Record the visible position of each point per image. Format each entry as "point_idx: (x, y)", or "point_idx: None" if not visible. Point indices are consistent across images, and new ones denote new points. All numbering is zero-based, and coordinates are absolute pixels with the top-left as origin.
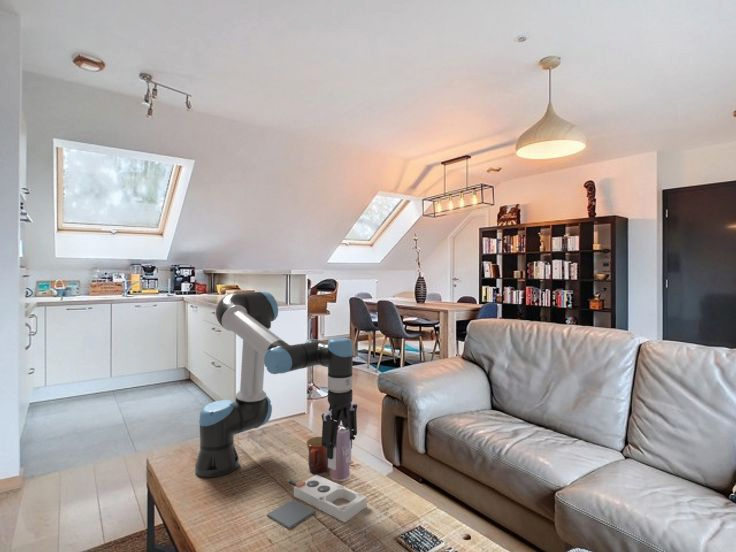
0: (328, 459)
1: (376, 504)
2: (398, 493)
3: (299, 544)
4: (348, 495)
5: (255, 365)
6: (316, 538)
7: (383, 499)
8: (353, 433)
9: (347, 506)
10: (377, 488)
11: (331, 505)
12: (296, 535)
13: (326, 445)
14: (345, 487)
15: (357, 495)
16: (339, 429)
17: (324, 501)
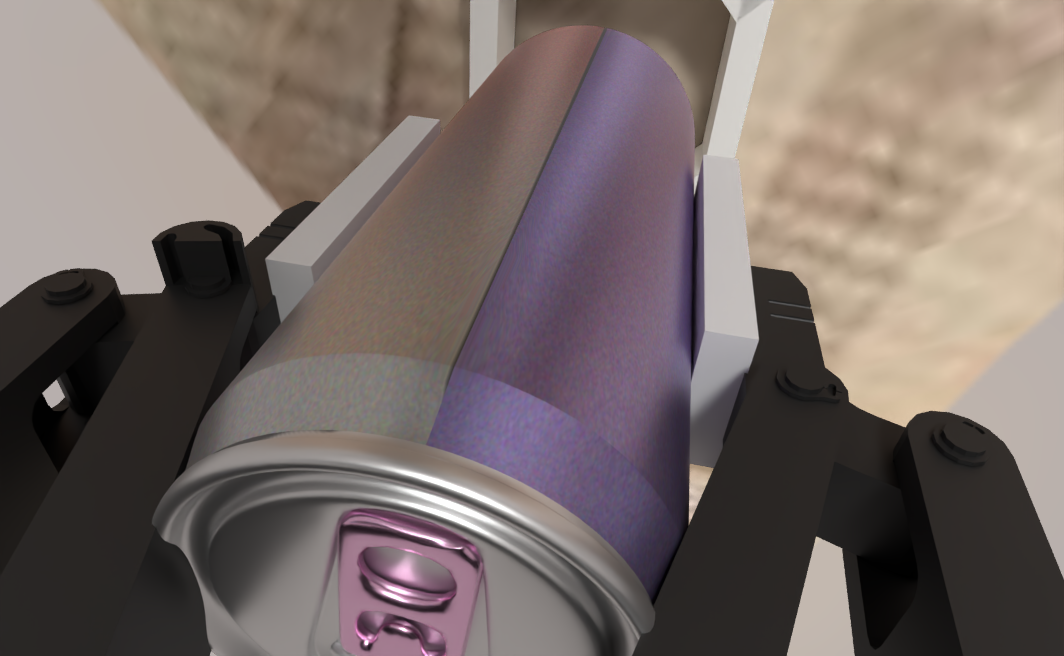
0: (370, 162)
1: (764, 262)
2: (969, 328)
3: (179, 84)
4: (720, 74)
5: None
6: (278, 135)
7: (847, 275)
8: (852, 539)
9: None
10: (1002, 170)
11: (470, 92)
12: (202, 7)
13: (63, 404)
14: (767, 22)
15: (694, 189)
16: (344, 640)
17: (476, 2)
